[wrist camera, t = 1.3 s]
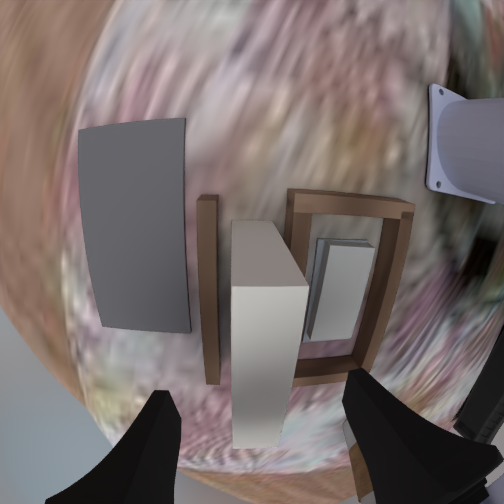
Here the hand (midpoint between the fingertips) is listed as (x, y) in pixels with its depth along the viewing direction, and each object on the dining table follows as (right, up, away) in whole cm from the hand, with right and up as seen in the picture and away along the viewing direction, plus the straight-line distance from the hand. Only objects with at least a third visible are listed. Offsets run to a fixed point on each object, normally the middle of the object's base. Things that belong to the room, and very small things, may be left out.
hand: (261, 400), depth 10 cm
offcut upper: (+6, +3, +8) cm, 11 cm away
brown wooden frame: (+3, +3, +8) cm, 9 cm away
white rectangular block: (-1, +3, +8) cm, 9 cm away
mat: (-8, +7, +6) cm, 12 cm away
